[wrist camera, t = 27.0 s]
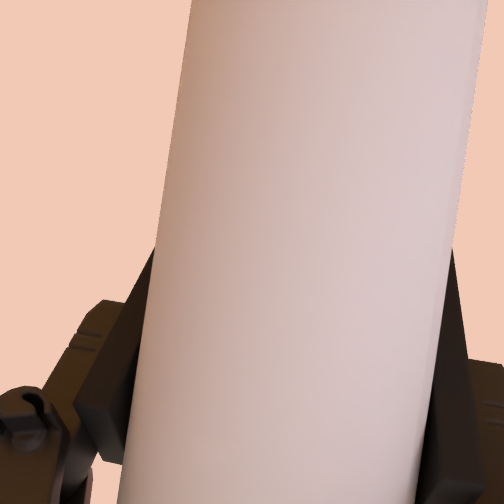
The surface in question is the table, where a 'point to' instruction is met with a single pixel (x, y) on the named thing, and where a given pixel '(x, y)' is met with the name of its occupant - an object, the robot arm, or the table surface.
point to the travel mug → (302, 252)
